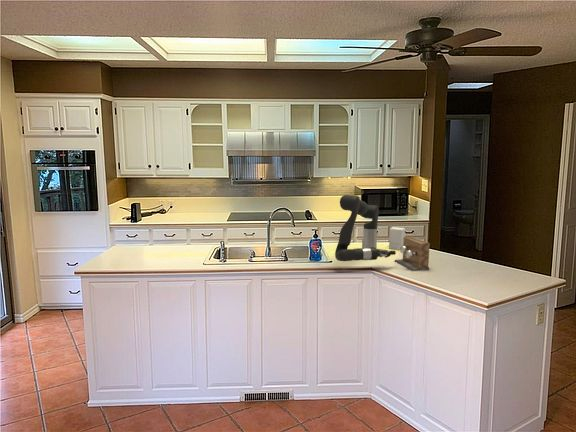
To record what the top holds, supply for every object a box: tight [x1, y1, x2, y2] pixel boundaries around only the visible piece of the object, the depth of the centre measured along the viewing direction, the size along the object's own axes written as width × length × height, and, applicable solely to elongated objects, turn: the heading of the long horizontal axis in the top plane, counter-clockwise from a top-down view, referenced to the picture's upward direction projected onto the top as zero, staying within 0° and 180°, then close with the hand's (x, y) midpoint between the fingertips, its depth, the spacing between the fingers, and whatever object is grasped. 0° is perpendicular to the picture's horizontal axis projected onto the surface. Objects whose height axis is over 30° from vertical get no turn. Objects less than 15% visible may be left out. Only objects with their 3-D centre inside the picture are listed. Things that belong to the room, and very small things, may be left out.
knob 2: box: [405, 250, 417, 258], centre depth 260 cm, size 8×4×4 cm, turn 104°
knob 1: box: [399, 246, 408, 254], centre depth 272 cm, size 8×4×4 cm, turn 104°
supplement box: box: [388, 226, 406, 251], centre depth 312 cm, size 9×9×15 cm
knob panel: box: [394, 236, 431, 272], centre depth 266 cm, size 11×22×16 cm, turn 14°
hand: (395, 252), depth 262 cm, fingers closed
